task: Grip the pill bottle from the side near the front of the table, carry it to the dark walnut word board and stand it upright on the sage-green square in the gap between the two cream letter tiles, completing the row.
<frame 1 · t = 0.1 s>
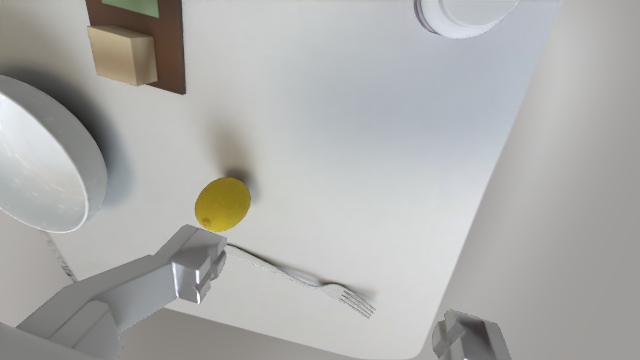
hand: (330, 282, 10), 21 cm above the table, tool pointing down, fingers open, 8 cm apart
fork: (297, 274, 42), on the table
lemon: (240, 184, 36), on the table
serving bowl: (64, 142, 38), on the table
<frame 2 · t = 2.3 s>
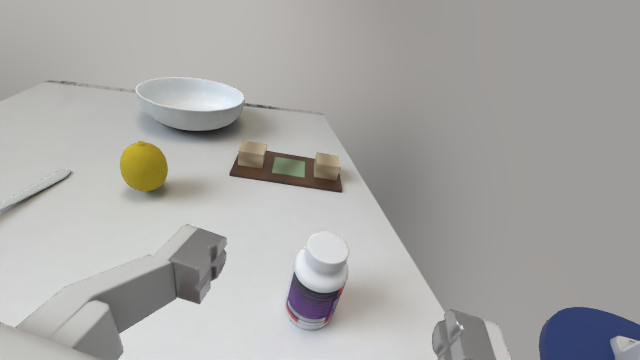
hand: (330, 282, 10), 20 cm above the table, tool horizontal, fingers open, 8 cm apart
lemon: (148, 191, 41), on the table
word board: (288, 169, 53), on the table
serving bowl: (195, 122, 62), on the table
pill bottle: (308, 307, 31), on the table
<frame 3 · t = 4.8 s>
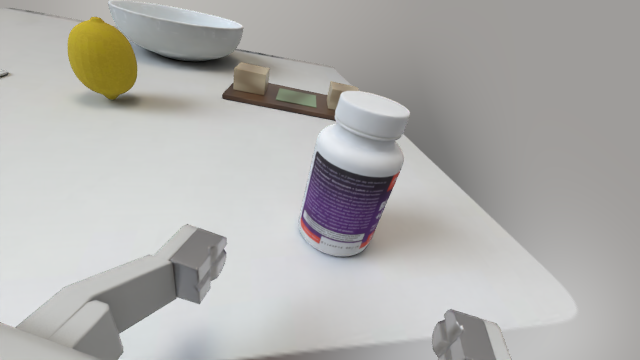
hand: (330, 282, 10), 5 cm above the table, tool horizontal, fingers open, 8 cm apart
lemon: (112, 101, 31), on the table
word board: (296, 101, 43), on the table
serving bowl: (183, 56, 52), on the table
pill bottle: (333, 232, 21), on the table
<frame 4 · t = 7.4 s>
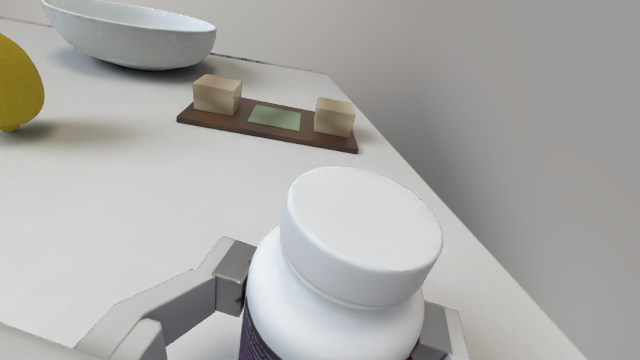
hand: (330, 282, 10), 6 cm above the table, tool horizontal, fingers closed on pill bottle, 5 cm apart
lemon: (11, 133, 22), on the table
word board: (275, 122, 35), on the table
serving bowl: (145, 64, 44), on the table
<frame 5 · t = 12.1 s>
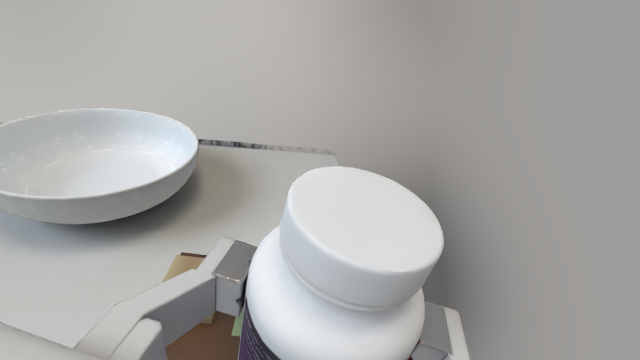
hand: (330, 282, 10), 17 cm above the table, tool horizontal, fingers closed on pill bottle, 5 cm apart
word board: (271, 309, 26), on the table
serving bowl: (111, 190, 35), on the table
when the fingers open (6 cm above the table, at t = 16.7 s): pill bottle stays where it is, resting on word board.
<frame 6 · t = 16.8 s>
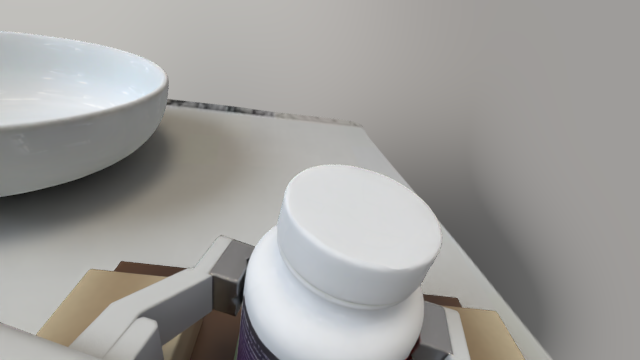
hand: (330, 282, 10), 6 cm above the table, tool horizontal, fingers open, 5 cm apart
serving bowl: (21, 156, 21), on the table
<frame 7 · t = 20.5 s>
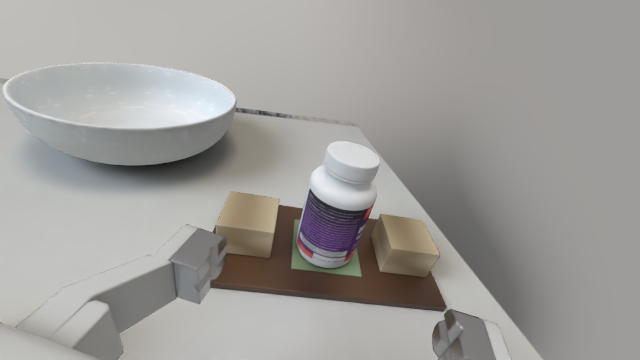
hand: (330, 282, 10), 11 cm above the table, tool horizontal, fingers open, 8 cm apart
word board: (323, 250, 26), on the table
serving bowl: (146, 143, 34), on the table
pill bottle: (323, 247, 25), point 1 cm above the table, touching word board
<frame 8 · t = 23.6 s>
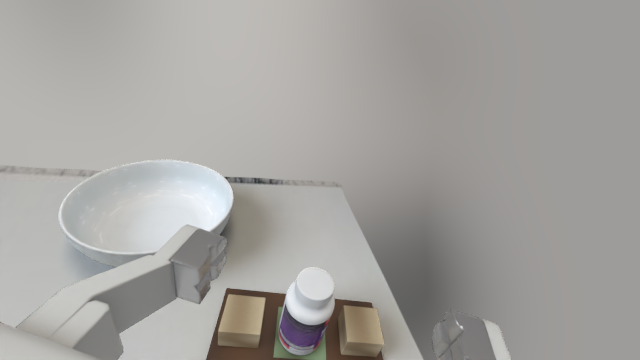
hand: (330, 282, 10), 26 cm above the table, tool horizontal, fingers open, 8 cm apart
word board: (299, 335, 34), on the table
serving bowl: (161, 232, 43), on the table
pill bottle: (299, 333, 34), point 1 cm above the table, touching word board
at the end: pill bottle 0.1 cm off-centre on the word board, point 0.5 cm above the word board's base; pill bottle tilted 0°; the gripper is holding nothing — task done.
